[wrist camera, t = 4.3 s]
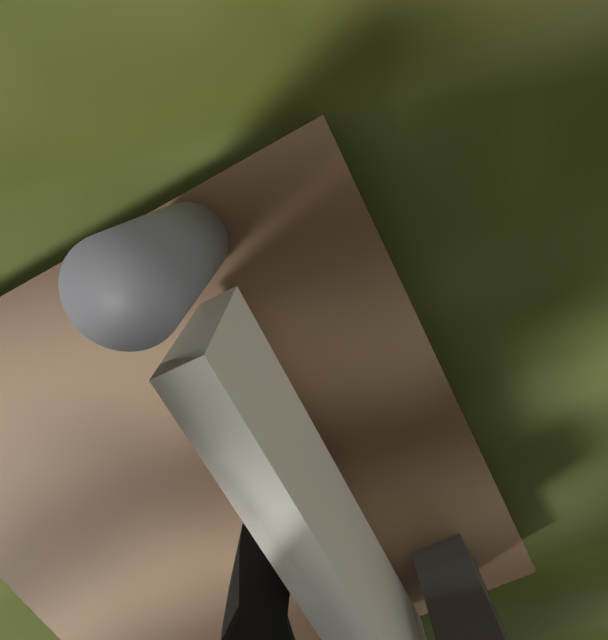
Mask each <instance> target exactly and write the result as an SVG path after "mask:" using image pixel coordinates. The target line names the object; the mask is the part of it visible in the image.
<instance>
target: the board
mask: <svg viewBox="0 0 608 640" xmlns="http://www.w3.org/2000/svg"><path fill="white" fill-rule="evenodd" d="M178 202H195V203H199V204H201V205H204V206H206V207H208V208H209V209H211V210H212V211H213V212H214V213H215V214H216V215H217V216H218V217H219V218H220V219H221V221H222V222H223V224H224V226H225V228H226V231H227V234H228V243H229V245H228V252H227V255H226V258H225V260H224V262H223V264H222V265H221V266H220V268H219V269H218V271H217V272H216V273H215V275H214V276H213V278H212V279H211V280H210V282H209V283H208V285H207V286H206V287H205V289H204V290H203V292H202V293H201V294H200V296H199V297H198V299H197V300H196V301H195V303H194V304H193V306H192V307H191V308H190V310H189V311H188V313H187V314H186V315H185V317H184V318H183V320H182V321H181V322H180V324H179V325H178V327H177V328H176V329H175V331H174V332H173V333H172V334H171V335H170V336H169V337H168V338H167V339H166V340H165V341H163V342H162V343H160V344H159V345H157V346H155V347H152V348H150V349H146V350H143V351H136V352H123V351H116V350H112V349H109V348H106V347H103V346H101V345H99V344H97V343H95V342H93V341H91V340H90V339H88V338H87V337H86V336H84V335H83V334H82V333H81V332H80V331H79V330H78V329H77V328H76V327H75V326H74V325H73V323H72V322H71V321H70V319H69V318H68V316H67V314H66V313H65V310H64V308H63V306H62V303H61V300H60V296H59V289H58V280H59V273H60V269H61V266H62V263H63V262H61V263H59V264H57V265H55V266H54V267H52V268H50V269H48V270H47V271H45V272H43V273H41V274H40V275H38V276H36V277H34V278H32V279H31V280H29V281H27V282H25V283H24V284H22V285H20V286H18V287H16V288H15V289H13V290H11V291H9V292H8V293H6V294H4V295H2V296H1V297H0V578H1V579H2V580H3V581H4V582H5V583H6V584H7V585H8V586H9V587H10V588H11V589H12V590H13V591H14V592H15V593H16V594H17V595H18V596H19V597H20V598H21V600H22V601H23V602H24V603H25V604H26V605H27V606H28V607H29V608H30V609H31V610H32V611H33V612H34V613H35V614H36V615H37V616H38V617H39V618H40V619H41V620H42V621H43V622H44V623H45V624H46V625H47V626H48V627H49V628H50V629H51V630H52V631H53V632H54V633H55V634H56V635H57V636H58V637H59V638H60V640H221V632H222V625H223V620H224V614H225V608H226V602H227V596H228V590H229V585H230V580H231V575H232V570H233V566H234V561H235V556H236V552H237V547H238V542H239V538H240V533H241V528H242V524H244V523H243V521H242V520H241V518H240V517H239V515H238V514H237V512H236V511H235V509H234V508H233V506H232V505H231V503H230V502H229V500H228V499H227V497H226V496H225V494H224V493H223V491H222V490H221V488H220V487H219V485H218V484H217V482H216V481H215V479H214V478H213V476H212V475H211V473H210V472H209V470H208V469H207V467H206V466H205V464H204V463H203V461H202V460H201V458H200V457H199V455H198V454H197V452H196V451H195V449H194V448H193V446H192V445H191V443H190V442H189V440H188V439H187V437H186V436H185V434H184V433H183V431H182V430H181V428H180V427H179V425H178V424H177V422H176V421H175V419H174V418H173V416H172V414H171V413H170V411H169V410H168V408H167V407H166V405H165V404H164V402H163V401H162V399H161V398H160V396H159V395H158V393H157V392H156V390H155V389H154V387H153V386H152V384H151V383H150V381H149V380H150V378H151V377H152V375H153V374H154V372H155V371H156V369H157V368H158V366H159V365H160V363H161V362H162V360H163V359H164V357H165V356H166V354H167V353H168V351H169V350H170V348H171V347H172V345H173V344H174V342H175V341H176V339H177V338H178V336H179V335H180V333H181V332H182V330H183V329H184V327H185V326H186V324H187V323H188V321H189V320H190V318H191V317H192V315H193V314H194V312H195V311H196V309H197V308H198V306H199V305H200V303H203V302H205V301H207V300H209V299H211V298H213V297H215V296H217V295H219V294H221V293H223V292H225V291H227V290H229V289H231V288H234V287H236V286H237V287H238V288H239V290H240V292H241V294H242V296H243V297H244V299H245V301H246V303H247V305H248V306H249V308H250V310H251V312H252V314H253V316H254V317H255V319H256V321H257V323H258V325H259V326H260V328H261V330H262V332H263V334H264V335H265V337H266V339H267V341H268V343H269V344H270V346H271V348H272V350H273V352H274V354H275V355H276V357H277V359H278V361H279V363H280V364H281V366H282V368H283V370H284V372H285V373H286V375H287V377H288V379H289V381H290V382H291V384H292V386H293V388H294V390H295V392H296V393H297V395H298V397H299V399H300V401H301V402H302V404H303V406H304V408H305V410H306V411H307V413H308V415H309V417H310V419H311V420H312V422H313V424H314V426H315V428H316V430H317V431H318V433H319V435H320V437H321V439H322V440H323V442H324V444H325V446H326V448H327V449H328V451H329V453H330V455H331V457H332V458H333V460H334V462H335V464H336V466H337V468H338V469H339V471H340V473H341V475H342V477H343V478H344V480H345V482H346V484H347V486H348V487H349V489H350V491H351V493H352V495H353V496H354V498H355V500H356V502H357V504H358V506H359V507H360V509H361V511H362V513H363V515H364V516H365V518H366V520H367V522H368V524H369V525H370V527H371V529H372V531H373V533H374V534H375V536H376V538H377V540H378V542H379V544H380V545H381V547H382V549H383V551H384V553H385V554H386V556H387V558H388V560H389V562H390V563H391V565H392V567H393V569H394V571H395V572H396V574H397V576H398V578H399V580H400V582H401V583H402V585H403V587H404V589H405V591H406V592H407V594H408V596H409V598H410V600H411V601H412V603H413V605H414V607H415V609H416V610H417V612H418V614H419V616H422V615H425V614H427V613H429V617H430V620H431V624H432V627H433V631H434V634H435V638H436V640H509V639H508V637H507V634H506V632H505V630H504V627H503V625H502V623H501V620H500V618H499V616H498V614H497V611H496V609H495V607H494V604H493V602H492V600H491V597H490V595H489V593H488V590H491V589H493V588H496V587H499V586H501V585H504V584H507V583H509V582H512V581H515V580H517V579H520V578H522V577H525V576H528V575H530V574H533V573H536V572H537V571H536V569H535V567H534V565H533V563H532V561H531V558H530V556H529V554H528V552H527V550H526V548H525V546H524V543H523V541H522V539H521V537H520V535H519V533H518V531H517V528H516V526H515V524H514V522H513V520H512V518H511V516H510V513H509V511H508V509H507V507H506V505H505V503H504V501H503V498H502V496H501V494H500V492H499V490H498V488H497V486H496V483H495V481H494V479H493V477H492V475H491V473H490V471H489V468H488V466H487V464H486V462H485V460H484V458H483V456H482V453H481V451H480V449H479V447H478V445H477V443H476V441H475V438H474V436H473V434H472V432H471V430H470V428H469V426H468V423H467V421H466V419H465V417H464V415H463V413H462V411H461V409H460V406H459V404H458V402H457V400H456V398H455V396H454V394H453V391H452V389H451V387H450V385H449V383H448V381H447V379H446V376H445V374H444V372H443V370H442V368H441V366H440V364H439V361H438V359H437V357H436V355H435V353H434V351H433V349H432V346H431V344H430V342H429V340H428V338H427V336H426V334H425V331H424V329H423V327H422V325H421V323H420V321H419V319H418V316H417V314H416V312H415V310H414V308H413V306H412V304H411V301H410V299H409V297H408V295H407V293H406V291H405V289H404V286H403V284H402V282H401V280H400V278H399V276H398V274H397V271H396V269H395V267H394V265H393V263H392V261H391V259H390V256H389V254H388V252H387V250H386V248H385V246H384V244H383V241H382V239H381V237H380V235H379V233H378V231H377V229H376V226H375V224H374V222H373V220H372V218H371V216H370V214H369V212H368V209H367V207H366V205H365V203H364V201H363V199H362V197H361V194H360V192H359V190H358V188H357V186H356V184H355V182H354V179H353V177H352V175H351V173H350V171H349V169H348V167H347V164H346V162H345V160H344V158H343V156H342V154H341V152H340V149H339V147H338V145H337V143H336V141H335V139H334V137H333V134H332V132H331V130H330V128H329V126H328V124H327V122H326V119H325V117H324V115H321V116H320V117H318V118H316V119H314V120H313V121H311V122H309V123H307V124H305V125H304V126H302V127H300V128H298V129H297V130H295V131H293V132H291V133H290V134H288V135H286V136H284V137H282V138H281V139H279V140H277V141H275V142H274V143H272V144H270V145H268V146H266V147H265V148H263V149H261V150H259V151H258V152H256V153H254V154H252V155H251V156H249V157H247V158H245V159H243V160H242V161H240V162H238V163H236V164H235V165H233V166H231V167H229V168H227V169H226V170H224V171H222V172H220V173H219V174H217V175H215V176H213V177H212V178H210V179H208V180H206V181H204V182H203V183H201V184H199V185H197V186H196V187H194V188H192V189H190V190H188V191H187V192H185V193H183V194H181V195H180V196H178V197H176V198H174V199H173V200H171V201H169V202H167V203H165V204H164V205H162V206H160V207H158V208H157V209H155V210H153V211H151V212H154V211H156V210H159V209H161V208H164V207H167V206H169V205H172V204H175V203H178ZM151 212H149V213H151ZM288 618H289V621H290V624H291V628H292V631H293V634H294V637H295V640H321V639H320V637H319V636H318V634H317V633H316V631H315V630H314V628H313V627H312V625H311V624H310V622H309V621H308V619H307V618H306V616H305V615H304V613H303V612H302V610H301V609H300V607H299V606H298V604H297V603H296V601H295V600H294V598H293V597H292V595H291V594H290V597H289V607H288Z"/></svg>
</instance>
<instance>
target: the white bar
mask: <svg viewBox="0 0 608 640" xmlns="http://www.w3.org/2000/svg"><path fill="white" fill-rule="evenodd" d="M228 245H229V243H228V234H227V231H226V228H225V226H224V224H223V222H222V221H221V219H220V218H219V217H218V216H217V215H216V214H215V213H214V212H213V211H212V210H211V209H209V208H208V207H206V206H204V205H201V204H199V203H195V202H178V203H175V204H172V205H169V206H167V207H164V208H161V209H159V210H156V211H154V212H151V213H148V214H146V215H143V216H140V217H138V218H135V219H133V220H130V221H127V222H125V223H122V224H119V225H117V226H114V227H112V228H109V229H106V230H104V231H101V232H99V233H96V234H93V235H91V236H89V237H86V238H85V239H83V240H81V241H80V242H79V243H77V244H76V245H75V246H74V247H73V248H72V249H71V250H70V251H69V253H68V254H67V256H66V257H65V259H64V261H63V263H62V266H61V269H60V273H59V280H58V289H59V296H60V300H61V303H62V306H63V308H64V310H65V313H66V314H67V316H68V318H69V319H70V321H71V322H72V323H73V325H74V326H75V327H76V328H77V329H78V330H79V331H80V332H81V333H82V334H83V335H84V336H86V337H87V338H88V339H90V340H91V341H93V342H95V343H97V344H99V345H101V346H103V347H106V348H109V349H112V350H116V351H123V352H136V351H143V350H146V349H150V348H152V347H155V346H157V345H159V344H160V343H162V342H163V341H165V340H166V339H167V338H168V337H169V336H170V335H171V334H172V333H173V332H174V331H175V329H176V328H177V327H178V325H179V324H180V322H181V321H182V320H183V318H184V317H185V315H186V314H187V313H188V311H189V310H190V308H191V307H192V306H193V304H194V303H195V301H196V300H197V299H198V297H199V296H200V294H201V293H202V292H203V290H204V289H205V287H206V286H207V285H208V283H209V282H210V280H211V279H212V278H213V276H214V275H215V273H216V272H217V271H218V269H219V268H220V266H221V265H222V264H223V262H224V260H225V258H226V255H227V252H228ZM149 381H150V383H151V384H152V386H153V387H154V389H155V390H156V392H157V393H158V395H159V396H160V398H161V399H162V401H163V402H164V404H165V405H166V407H167V408H168V410H169V411H170V413H171V414H172V416H173V418H174V419H175V421H176V422H177V424H178V425H179V427H180V428H181V430H182V431H183V433H184V434H185V436H186V437H187V439H188V440H189V442H190V443H191V445H192V446H193V448H194V449H195V451H196V452H197V454H198V455H199V457H200V458H201V460H202V461H203V463H204V464H205V466H206V467H207V469H208V470H209V472H210V473H211V475H212V476H213V478H214V479H215V481H216V482H217V484H218V485H219V487H220V488H221V490H222V491H223V493H224V494H225V496H226V497H227V499H228V500H229V502H230V503H231V505H232V506H233V508H234V509H235V511H236V512H237V514H238V515H239V517H240V518H241V520H242V521H243V523H244V524H245V526H246V527H247V529H248V530H249V532H250V533H251V535H252V536H253V538H254V539H255V541H256V542H257V544H258V546H259V547H260V549H261V550H262V552H263V553H264V555H265V556H266V558H267V559H268V561H269V562H270V564H271V565H272V567H273V568H274V570H275V571H276V573H277V574H278V576H279V577H280V579H281V580H282V582H283V583H284V585H285V586H286V588H287V589H288V591H289V592H290V594H291V595H292V597H293V598H294V600H295V601H296V603H297V604H298V606H299V607H300V609H301V610H302V612H303V613H304V615H305V616H306V618H307V619H308V621H309V622H310V624H311V625H312V627H313V628H314V630H315V631H316V633H317V634H318V636H319V637H320V639H321V640H427V639H426V635H425V631H424V627H423V623H422V620H421V618H420V616H419V614H418V612H417V610H416V609H415V607H414V605H413V603H412V601H411V600H410V598H409V596H408V594H407V592H406V591H405V589H404V587H403V585H402V583H401V582H400V580H399V578H398V576H397V574H396V572H395V571H394V569H393V567H392V565H391V563H390V562H389V560H388V558H387V556H386V554H385V553H384V551H383V549H382V547H381V545H380V544H379V542H378V540H377V538H376V536H375V534H374V533H373V531H372V529H371V527H370V525H369V524H368V522H367V520H366V518H365V516H364V515H363V513H362V511H361V509H360V507H359V506H358V504H357V502H356V500H355V498H354V496H353V495H352V493H351V491H350V489H349V487H348V486H347V484H346V482H345V480H344V478H343V477H342V475H341V473H340V471H339V469H338V468H337V466H336V464H335V462H334V460H333V458H332V457H331V455H330V453H329V451H328V449H327V448H326V446H325V444H324V442H323V440H322V439H321V437H320V435H319V433H318V431H317V430H316V428H315V426H314V424H313V422H312V420H311V419H310V417H309V415H308V413H307V411H306V410H305V408H304V406H303V404H302V402H301V401H300V399H299V397H298V395H297V393H296V392H295V390H294V388H293V386H292V384H291V382H290V381H289V379H288V377H287V375H286V373H285V372H284V370H283V368H282V366H281V364H280V363H279V361H278V359H277V357H276V355H275V354H274V352H273V350H272V348H271V346H270V344H269V343H268V341H267V339H266V337H265V335H264V334H263V332H262V330H261V328H260V326H259V325H258V323H257V321H256V319H255V317H254V316H253V314H252V312H251V310H250V308H249V306H248V305H247V303H246V301H245V299H244V297H243V296H242V294H241V292H240V290H239V288H238V287H237V286H236V287H234V288H231V289H229V290H227V291H225V292H223V293H221V294H219V295H217V296H215V297H213V298H211V299H209V300H207V301H205V302H203V303H200V305H199V306H198V308H197V309H196V311H195V312H194V314H193V315H192V317H191V318H190V320H189V321H188V323H187V324H186V326H185V327H184V329H183V330H182V332H181V333H180V335H179V336H178V338H177V339H176V341H175V342H174V344H173V345H172V347H171V348H170V350H169V351H168V353H167V354H166V356H165V357H164V359H163V360H162V362H161V363H160V365H159V366H158V368H157V369H156V371H155V372H154V374H153V375H152V377H151V378H150V380H149Z"/></svg>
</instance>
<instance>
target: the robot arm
mask: <svg viewBox="0 0 608 640" xmlns="http://www.w3.org/2000/svg"><path fill="white" fill-rule="evenodd" d="M289 597H290V592H289V591H288V589H287V588H286V586H285V585H284V583H283V582H282V580H281V579H280V577H279V576H278V574H277V573H276V571H275V570H274V568H273V567H272V565H271V564H270V562H269V561H268V559H267V558H266V556H265V555H264V553H263V552H262V550H261V549H260V547H259V546H258V544H257V542H256V541H255V539H254V538H253V536H252V535H251V533H250V532H249V530H248V529H247V527H246V526H245V524H242V528H241V533H240V538H239V542H238V547H237V552H236V556H235V561H234V566H233V570H232V575H231V580H230V585H229V590H228V596H227V602H226V608H225V614H224V620H223V625H222V632H221V640H295V637H294V634H293V631H292V628H291V624H290V621H289V618H288V607H289Z"/></svg>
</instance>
